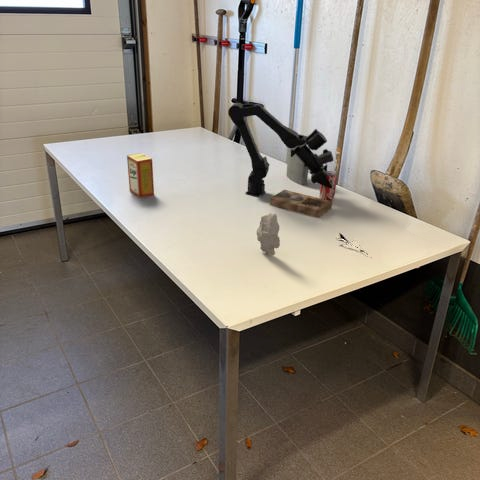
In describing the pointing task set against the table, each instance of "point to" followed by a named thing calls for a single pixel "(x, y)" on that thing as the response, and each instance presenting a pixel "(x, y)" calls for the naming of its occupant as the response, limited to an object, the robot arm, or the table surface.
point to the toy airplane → (350, 243)
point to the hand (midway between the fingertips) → (331, 185)
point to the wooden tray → (301, 203)
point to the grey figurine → (268, 233)
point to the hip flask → (296, 169)
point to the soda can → (327, 192)
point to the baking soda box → (140, 175)
